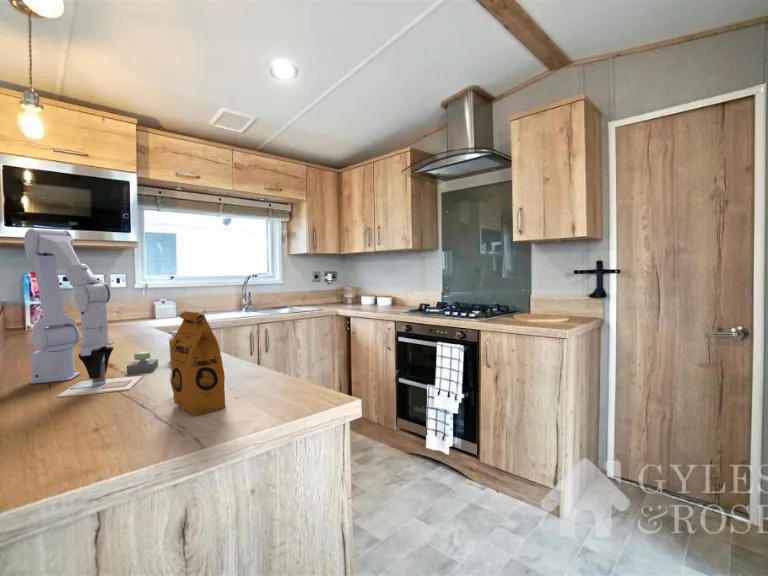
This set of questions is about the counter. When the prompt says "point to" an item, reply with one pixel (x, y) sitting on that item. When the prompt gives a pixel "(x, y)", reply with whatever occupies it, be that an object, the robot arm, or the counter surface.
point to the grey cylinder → (102, 377)
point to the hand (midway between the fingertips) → (98, 376)
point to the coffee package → (197, 366)
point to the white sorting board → (102, 386)
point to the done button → (142, 356)
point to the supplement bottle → (171, 340)
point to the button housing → (142, 366)
